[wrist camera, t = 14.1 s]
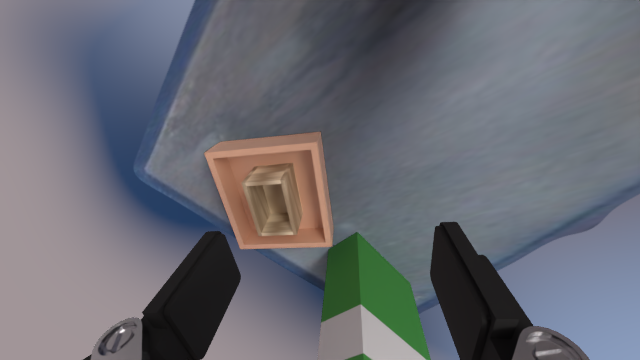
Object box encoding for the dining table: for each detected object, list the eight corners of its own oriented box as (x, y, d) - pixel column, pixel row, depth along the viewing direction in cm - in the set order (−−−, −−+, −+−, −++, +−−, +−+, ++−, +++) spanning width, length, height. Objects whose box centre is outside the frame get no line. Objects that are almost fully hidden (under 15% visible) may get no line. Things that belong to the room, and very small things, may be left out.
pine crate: (292, 162, 39) (284, 179, 34) (303, 212, 44) (296, 234, 38) (255, 165, 40) (241, 183, 35) (269, 214, 45) (258, 236, 39)
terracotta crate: (320, 131, 37) (317, 142, 33) (333, 228, 46) (332, 246, 41) (220, 141, 40) (204, 152, 35) (250, 231, 48) (240, 249, 44)
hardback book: (410, 283, 51) (454, 447, 30) (381, 296, 54) (402, 454, 32) (357, 231, 46) (364, 385, 25) (328, 249, 49) (313, 400, 28)
